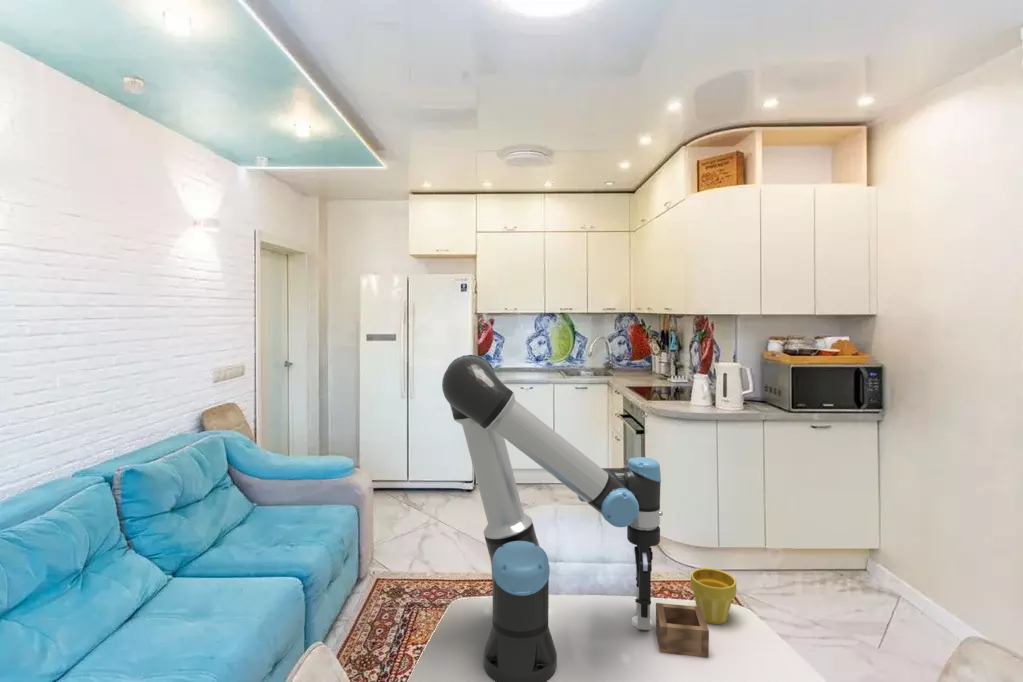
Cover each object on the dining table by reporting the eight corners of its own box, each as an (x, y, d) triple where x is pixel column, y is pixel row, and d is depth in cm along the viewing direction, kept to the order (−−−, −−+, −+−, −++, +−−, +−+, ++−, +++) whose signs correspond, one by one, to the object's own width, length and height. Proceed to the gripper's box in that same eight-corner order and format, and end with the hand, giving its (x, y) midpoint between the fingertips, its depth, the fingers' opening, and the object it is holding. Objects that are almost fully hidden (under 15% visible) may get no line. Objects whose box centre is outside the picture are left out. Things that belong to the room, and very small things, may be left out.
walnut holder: (659, 653, 116) (660, 626, 116) (655, 628, 126) (655, 602, 125) (708, 658, 114) (708, 631, 114) (700, 632, 124) (700, 606, 124)
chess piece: (633, 629, 125) (634, 586, 124) (629, 617, 130) (630, 576, 129) (655, 629, 125) (655, 587, 124) (650, 618, 129) (650, 577, 129)
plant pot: (740, 631, 124) (740, 589, 124) (693, 626, 126) (693, 585, 126) (731, 608, 134) (731, 569, 134) (687, 604, 136) (688, 565, 136)
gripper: (664, 540, 117) (663, 646, 118) (656, 512, 135) (655, 604, 135) (628, 538, 118) (628, 642, 119) (625, 511, 136) (625, 602, 136)
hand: (642, 622), depth 127 cm, fingers closed on chess piece, 5 cm apart
